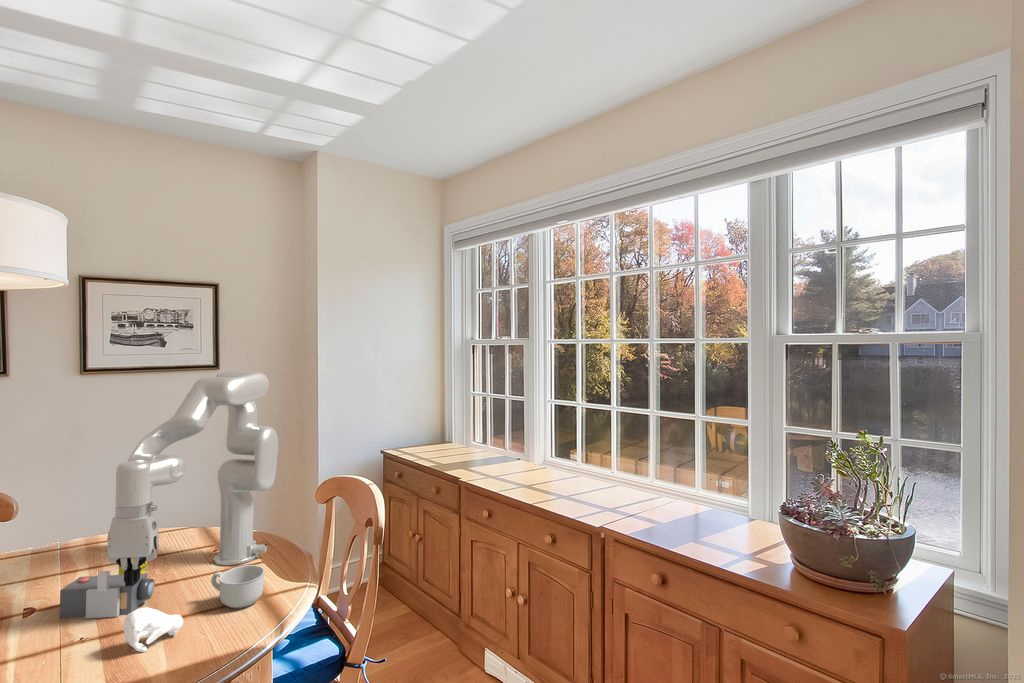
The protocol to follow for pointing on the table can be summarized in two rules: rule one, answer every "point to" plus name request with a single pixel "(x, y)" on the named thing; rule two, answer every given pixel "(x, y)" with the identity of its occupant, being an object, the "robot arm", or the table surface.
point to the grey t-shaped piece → (102, 598)
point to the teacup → (240, 585)
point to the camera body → (129, 596)
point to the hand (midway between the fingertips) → (131, 583)
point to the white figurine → (149, 626)
